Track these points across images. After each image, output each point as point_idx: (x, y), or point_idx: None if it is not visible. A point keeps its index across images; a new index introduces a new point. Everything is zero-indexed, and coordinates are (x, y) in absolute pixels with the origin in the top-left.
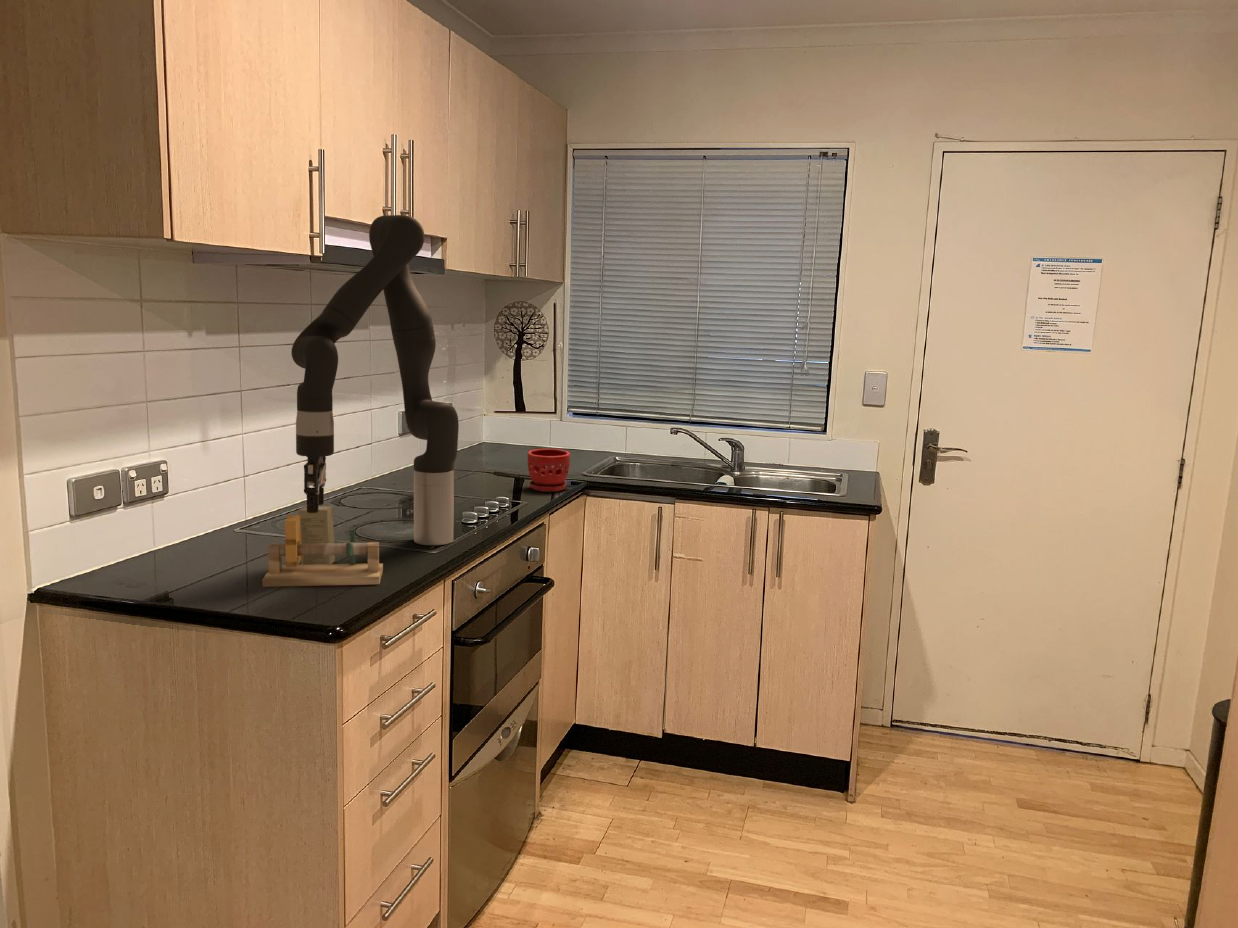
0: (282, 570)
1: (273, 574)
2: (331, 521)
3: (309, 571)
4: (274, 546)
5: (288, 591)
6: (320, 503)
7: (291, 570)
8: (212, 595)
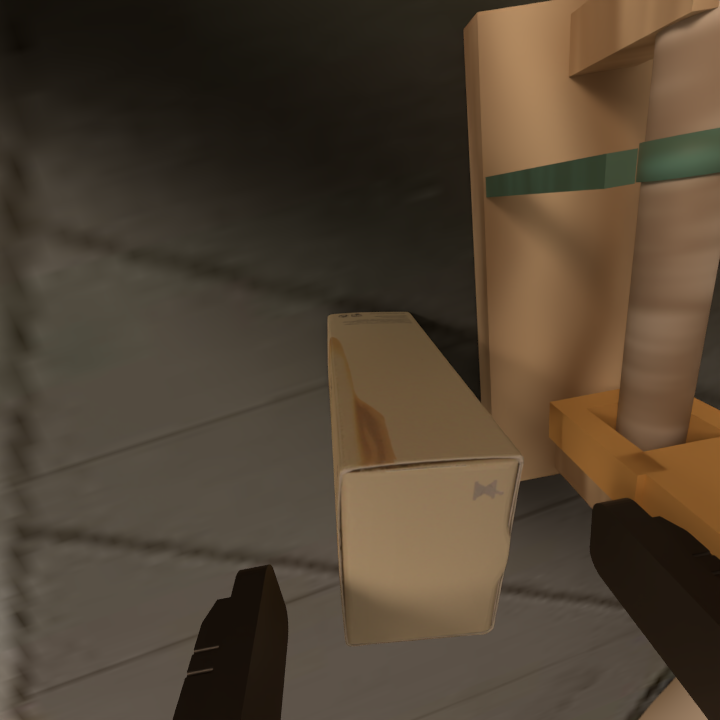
0: None
1: None
2: (388, 396)
3: (589, 340)
4: None
5: (707, 350)
6: (273, 585)
7: None
8: None
